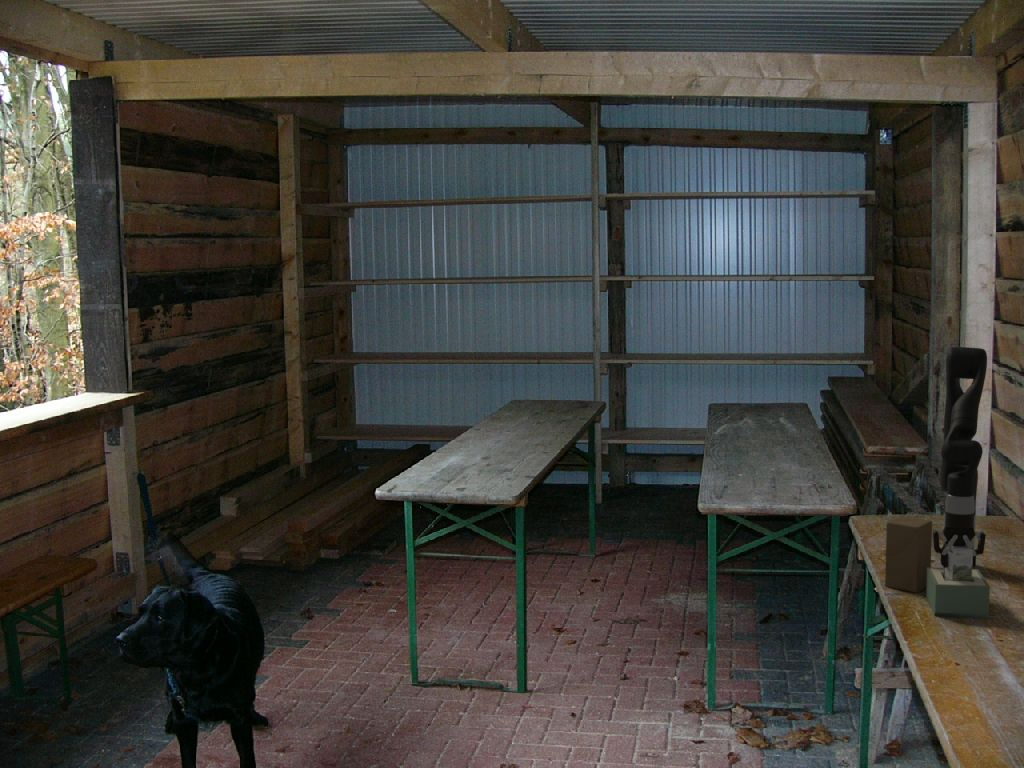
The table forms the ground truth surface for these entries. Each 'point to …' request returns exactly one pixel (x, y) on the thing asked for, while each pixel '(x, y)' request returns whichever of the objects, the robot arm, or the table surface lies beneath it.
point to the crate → (957, 595)
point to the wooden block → (908, 553)
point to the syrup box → (959, 564)
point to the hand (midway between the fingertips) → (957, 567)
